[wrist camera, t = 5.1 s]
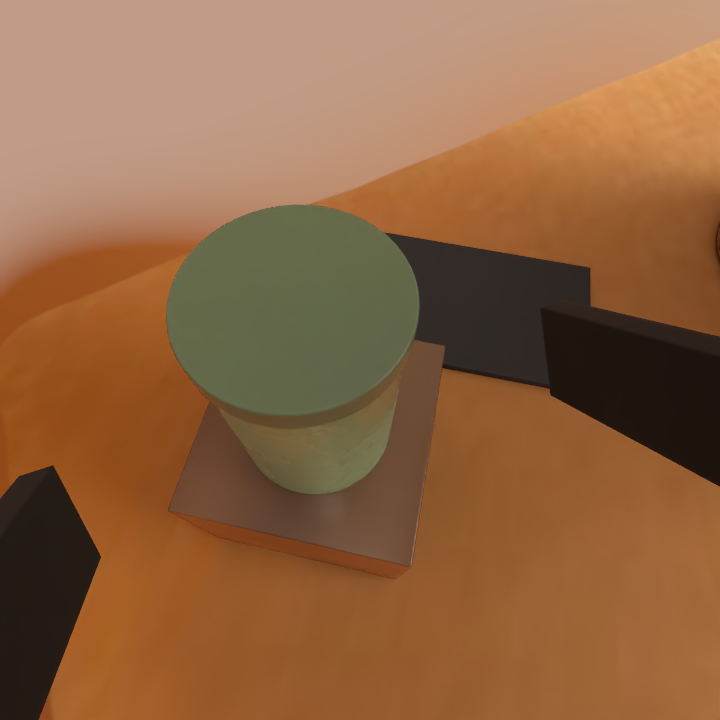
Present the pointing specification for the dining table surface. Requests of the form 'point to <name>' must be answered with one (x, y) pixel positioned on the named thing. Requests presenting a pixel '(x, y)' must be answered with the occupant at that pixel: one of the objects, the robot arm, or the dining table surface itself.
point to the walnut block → (321, 511)
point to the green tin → (298, 339)
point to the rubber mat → (489, 306)
